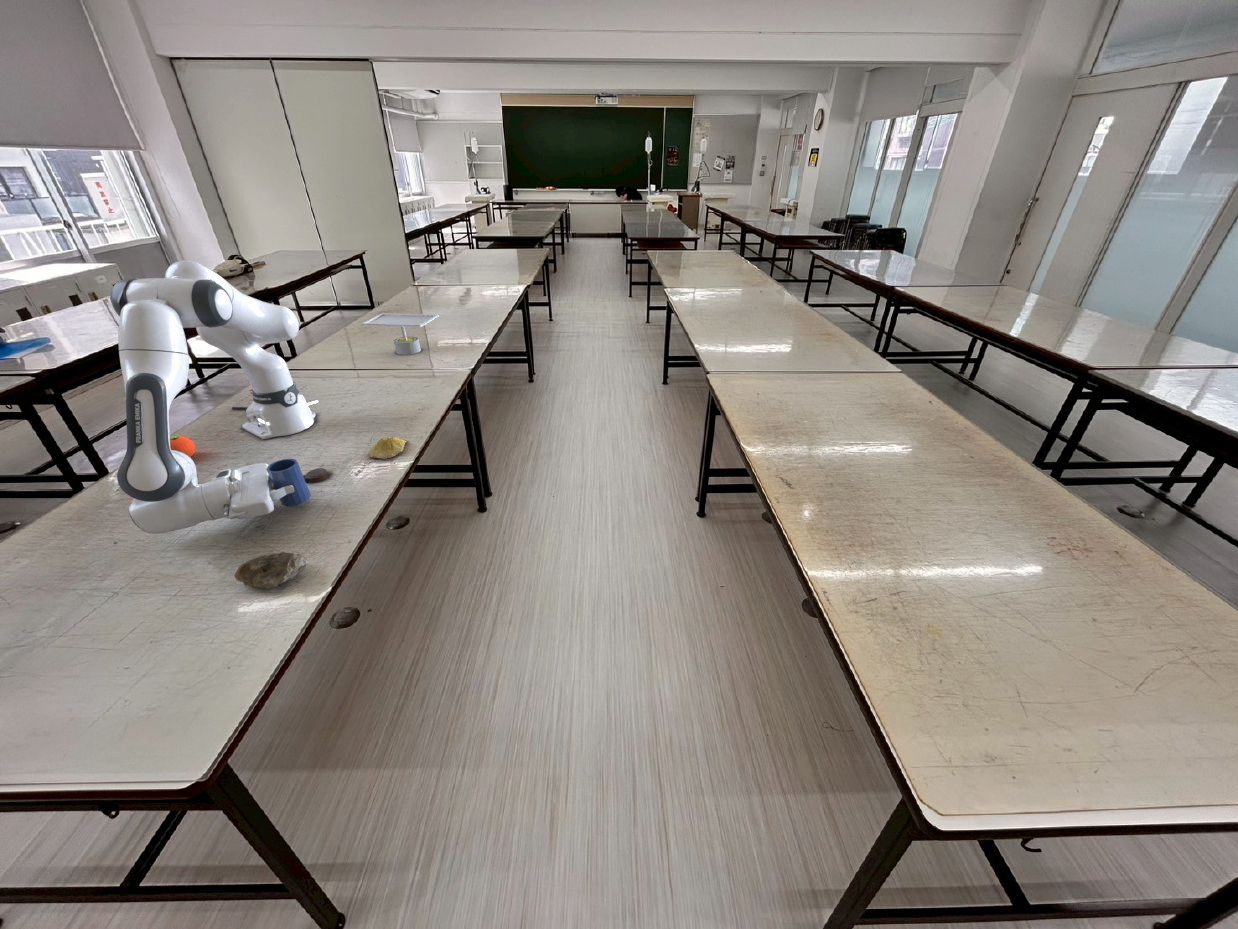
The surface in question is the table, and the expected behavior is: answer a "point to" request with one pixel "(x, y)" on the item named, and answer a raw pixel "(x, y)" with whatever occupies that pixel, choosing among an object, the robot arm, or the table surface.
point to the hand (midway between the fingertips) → (292, 479)
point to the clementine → (182, 445)
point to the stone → (271, 569)
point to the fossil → (387, 448)
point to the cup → (289, 481)
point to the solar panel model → (402, 320)
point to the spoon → (315, 475)
